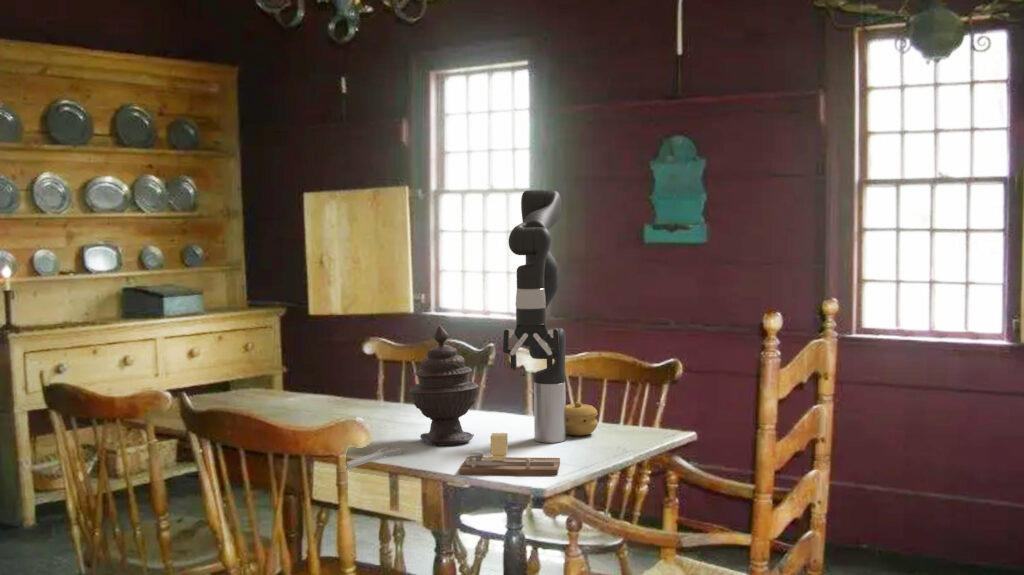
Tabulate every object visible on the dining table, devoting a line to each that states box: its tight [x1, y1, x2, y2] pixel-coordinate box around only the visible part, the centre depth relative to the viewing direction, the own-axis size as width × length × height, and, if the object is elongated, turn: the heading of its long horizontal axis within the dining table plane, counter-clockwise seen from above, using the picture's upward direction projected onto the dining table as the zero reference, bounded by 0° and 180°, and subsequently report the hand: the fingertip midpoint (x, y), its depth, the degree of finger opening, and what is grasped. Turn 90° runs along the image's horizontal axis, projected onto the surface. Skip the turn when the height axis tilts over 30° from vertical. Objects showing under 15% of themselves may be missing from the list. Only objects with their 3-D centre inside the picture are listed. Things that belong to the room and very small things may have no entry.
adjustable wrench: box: [346, 446, 404, 470], centre depth 302 cm, size 25×6×2 cm, turn 146°
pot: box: [566, 401, 599, 437], centre depth 333 cm, size 12×12×10 cm
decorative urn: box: [408, 324, 479, 446], centre depth 324 cm, size 20×20×35 cm
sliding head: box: [490, 432, 509, 461], centre depth 289 cm, size 6×4×7 cm, turn 175°
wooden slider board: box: [459, 450, 561, 476], centre depth 288 cm, size 14×25×4 cm, turn 85°
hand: (531, 369), depth 281 cm, fingers open, 8 cm apart
